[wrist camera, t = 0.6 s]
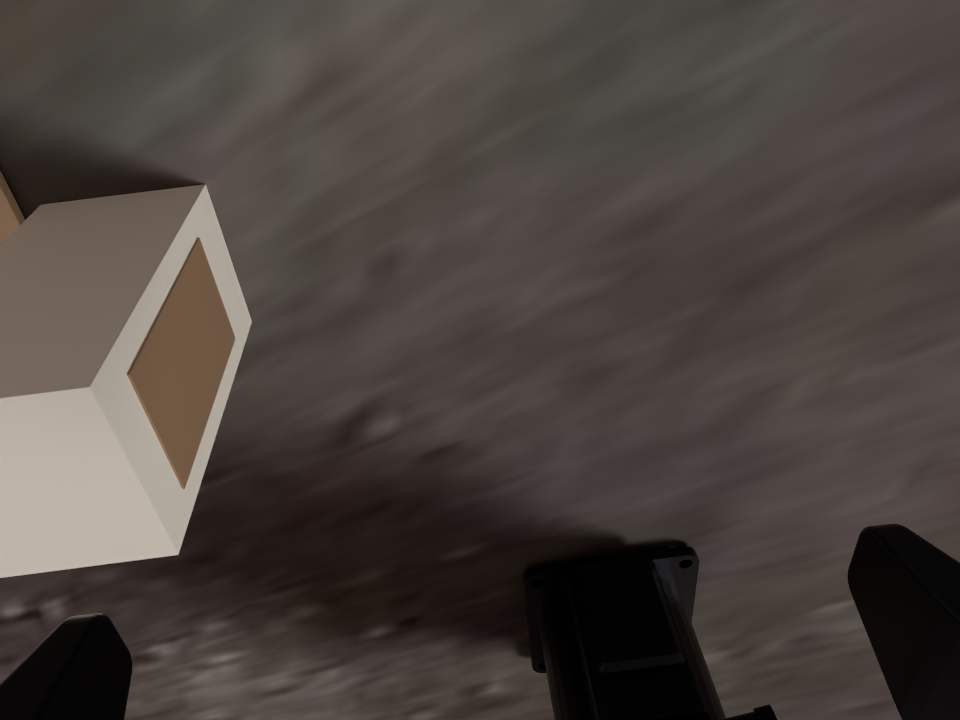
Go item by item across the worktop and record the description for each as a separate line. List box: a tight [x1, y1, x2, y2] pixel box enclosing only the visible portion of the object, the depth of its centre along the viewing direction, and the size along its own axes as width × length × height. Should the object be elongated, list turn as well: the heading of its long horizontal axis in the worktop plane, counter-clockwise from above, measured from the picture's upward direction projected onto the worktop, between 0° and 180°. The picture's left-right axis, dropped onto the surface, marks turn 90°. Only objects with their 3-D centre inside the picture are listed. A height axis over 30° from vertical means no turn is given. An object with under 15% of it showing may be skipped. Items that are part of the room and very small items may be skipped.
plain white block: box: [0, 184, 252, 578], centre depth 16 cm, size 4×4×8 cm
